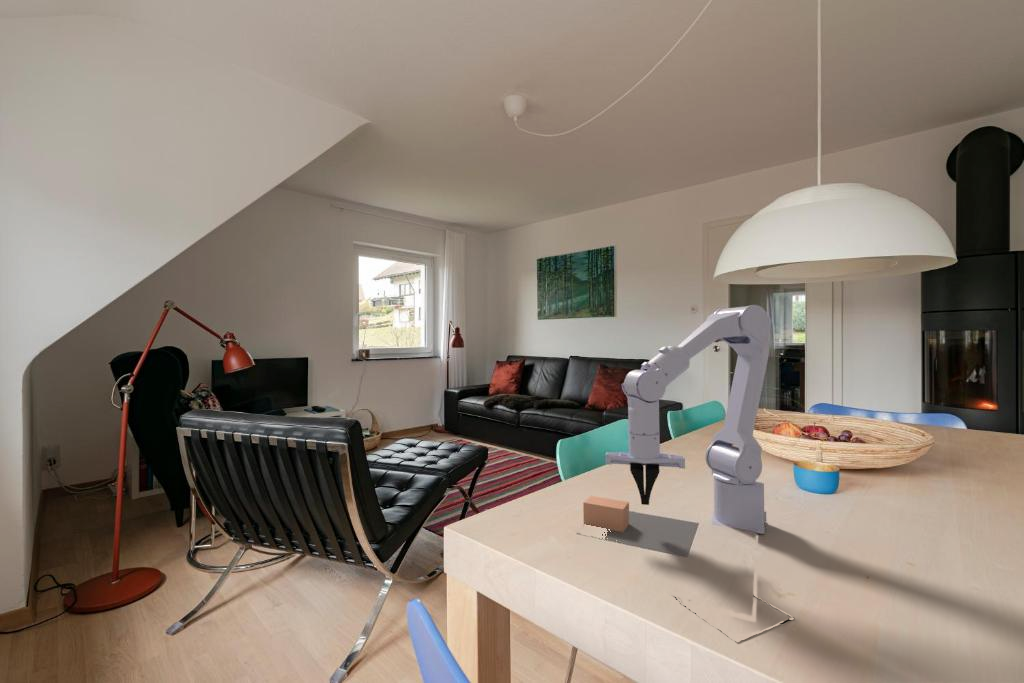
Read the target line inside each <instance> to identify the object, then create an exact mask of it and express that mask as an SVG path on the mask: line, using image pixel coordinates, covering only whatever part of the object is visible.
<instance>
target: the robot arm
mask: <svg viewBox="0 0 1024 683" xmlns="http://www.w3.org/2000/svg"><path fill="white" fill-rule="evenodd" d="M772 321H773V320H772V319H771V317H770V316H769V314H768V313H767V311H766V310H765V309H764V308H763V307H762V306H760V305H757V304H751V305H747V306H745V305H744V306H736V307H729V308H726V307H721V308H718V309H716V310H715V311H714V313H712V314H710V315H708V316H707V317H706V320H705V321H704V322H703V323H702V324H701V325H699V326H698V327H697V328H696V329H695V330H694V331H693V332H692V333H691V334H689V335H688V336H687V337H686V338H685V339H684V340H682V342H680V344H678V345H677V346H676V345H668V346H662V347H661V348H659V349H658V352H659V353H657V354H656V355H655V356H654V357H652V358H651V359H650V360H649V361H644V362H643V363H642V364H641V367H640V369H634V370H631V371H629V372H628V373H627V374H626V375H625V378H624V381H623V383H621V389H622V392H623V394H624V395H626V398H627V406H628V407H627V412H628V415H627V417H628V418H627V420H628V421H627V422H628V424H627V426H628V451H617V452H616V451H615V452H614V451H610V452H609V451H606V452H605V465H630V466H629V471H630V474H631V475H632V478H633V479H634V482H635V484H636V486H637V489H638V494H639V496H640V501H641V505H643V506H644V505H647V506H649V505H650V499H651V494H652V491H653V488H654V485H655V482H656V481H657V478H658V476H659V474H660V467H669V468H679V469H684V470H685V469H686V459H685V456H684V455H679V454H678V455H676V454H668V453H661V450H660V449H661V445H660V443H661V441H660V399H662V398H663V397H664V395H665V392H666V388H667V387H668V385H670V384H671V383H672V382H673V381H675V380H676V379H677V378H679V376H681V375H682V374H684V372H686V371H687V370H688V369H689V368H690V361H691V360H690V359H692V358H694V357H695V356H696V355H698V354H699V353H700V352H702V351H704V350H705V349H706V348H708V347H709V346H710V345H712V344H713V343H715V342H717V340H719V339H721V341H724V342H725V343H726V344H727V345H728V346H729V347H731V348H732V349H733V350H734V352H736V355H737V359H736V365H735V368H734V374H733V379H732V384H731V389H730V394H729V398H728V403H727V407H726V412H725V417H724V422H723V428H721V429H720V430H719V431H717V432H716V433H714V434H713V436H712V440H711V443H710V445H709V446H708V447H707V449H706V451H705V456H704V458H705V463H706V465H707V467H708V468H709V469H710V470H711V475H712V476H713V511H712V512H713V513H712V516H711V519H710V523H709V524H712V525H718V526H723V527H729V528H735V529H739V530H747V531H752V532H755V534H758V535H759V534H760V535H765V522H767V511H765V483H764V482H760V481H757V480H758V479H759V478H760V476H761V473H762V471H763V462H762V451H763V447H762V446H761V445H760V444H761V443H759V442H758V440H757V439H756V438H755V436H754V429H755V425H756V421H757V419H756V418H757V414H758V410H759V405H760V400H761V395H762V390H763V384H764V381H765V376H766V370H767V365H768V360H769V355H770V343H769V336H770V332H771V326H772V323H773V322H772ZM644 467H645V469H644ZM644 470H645V471H644ZM644 472H645V473H644ZM644 475H645V478H644Z"/></svg>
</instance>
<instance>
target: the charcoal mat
mask: <svg viewBox="0 0 1024 683" xmlns="http://www.w3.org/2000/svg"><path fill="white" fill-rule="evenodd" d="M698 526H699V522H694V521H687V520H683V519H679V518H677V519H676V518H671V517H665V516H661V515H660V516H659V515H654V514H648V513H644V512H637V511H630V510H629V525H628V526H627V528H626V529H625V530H624V532H619V531H614V530H610V531H611V532H610V531H609V530H608V529H607V531H608V532H607V536H606V534H605V536H606V537H605V540H604V541H607V540H608V542H612V541H613V543H616V542H617V544H621V543H622V545H627V546H631V547H636V548H640V549H646V550H650V551H656V552H659V553H660V552H661V553H665V554H670V555H673V556H674V555H675V556H677V557H678V556H679V557H683V558H688V556H689V552H690V550H691V547H692V545H693V541H694V539H695V536H696V533H697V529H698ZM604 533H605V532H604ZM602 536H603V534H602ZM607 538H608V539H607ZM602 539H603V538H602ZM602 539H600V538H599V539H598V540H602ZM616 540H617V541H616Z"/></svg>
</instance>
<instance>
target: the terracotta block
mask: <svg viewBox="0 0 1024 683" xmlns="http://www.w3.org/2000/svg"><path fill="white" fill-rule="evenodd" d="M582 511H583V525H584V524H586V525H591V526H596V527H601V528H606V529H610V530H614V531H619V532H624V530H625V529H626V528H627V526H628V525H629V511H630V502H629V501H626V500H625V501H624V500H619V499H611V498H605V497H600V496H593V495H590V496H589V497H588V498H587V499H585V501H583V510H582Z"/></svg>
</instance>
